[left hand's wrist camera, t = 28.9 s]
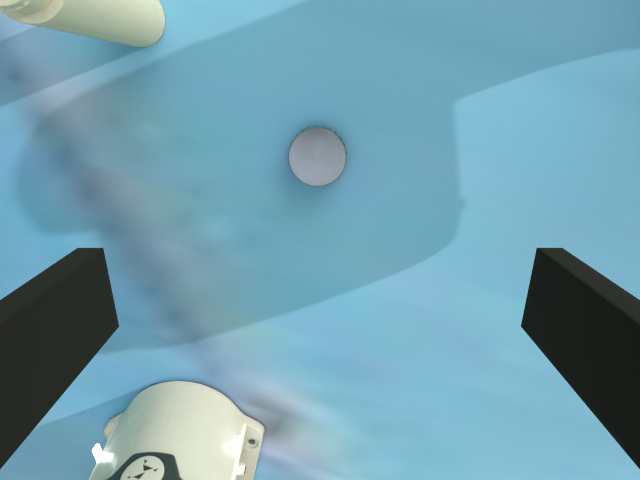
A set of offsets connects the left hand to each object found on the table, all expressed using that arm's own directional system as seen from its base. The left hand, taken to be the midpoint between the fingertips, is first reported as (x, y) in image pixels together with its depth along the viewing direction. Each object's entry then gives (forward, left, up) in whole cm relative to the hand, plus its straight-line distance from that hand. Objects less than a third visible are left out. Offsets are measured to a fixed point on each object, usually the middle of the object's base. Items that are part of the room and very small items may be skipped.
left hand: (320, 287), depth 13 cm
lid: (0, 0, -25) cm, 25 cm away
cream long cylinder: (-9, -16, -27) cm, 33 cm away
